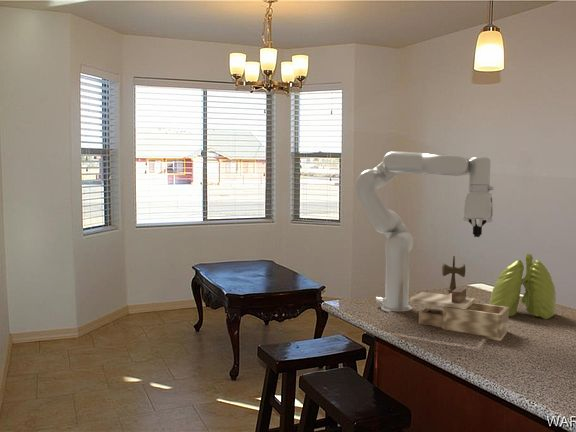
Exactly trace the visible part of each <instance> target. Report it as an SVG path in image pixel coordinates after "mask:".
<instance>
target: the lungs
mask: <svg viewBox="0 0 576 432" xmlns="http://www.w3.org/2000/svg"><path fill="white" fill-rule="evenodd" d="M533 260H534V257H533V255H532V253H526V254H525V267H524V263H523V261H522V260H520V259H517V260H515V261H514V262H513V263H512V264H510V265H508V266H506V267H505V268H504V269H503V271H502V272H501V273H500V274H499V275H498V279H497V280H496V282H495V284H494V287H493V288H492V291H491V295H490V299H489V302H488V303H489V305H497V306H504V307H509V317H513V316H515V315H516V314H517V310H518V308H519V307H518V306H519V304H520V301H521V304H522V305H524V306H525V308H526V312H527V313H528V314H530V315H533V316H535V317H537V318H538V317H540V318H542V319H544V320H548V319H550V318H552V317H553V316H555V314H556V302H557V297H556V296H557V293H556V287H555V284H554V282H553V277H552V276H551V273H550V271H549V270H548V268H547V267H546V266H545V265H544V263H542V261H541V260H539V259H538V260H537V259H536V260H534V261H533ZM524 268H525V275H524V274H523V273H524ZM523 275H524V277H523ZM522 286H523V287H524V293H523V295H522V296H520V295H521V291H522ZM520 298H521V299H520Z"/></svg>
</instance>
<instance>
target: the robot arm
mask: <svg viewBox="0 0 576 432" xmlns="http://www.w3.org/2000/svg"><path fill="white" fill-rule="evenodd" d="M399 174H414V175H440V176H451V177H452V176H454V177H460V176H469V177H468V178H469V179H468V192H466V196H465V200H464V209H463V215H464V216H463V219H462V220H463V221H465V222H468V223H469V224H471V226H472V235H473V237H474V238H476V237H477V238H480V237H481V236H482V234H483V226H484V225H485V224H488V223H492V222H493V215H494V214H493V213H494V209H493V208H494V207H493V205H494V203H493V194H492V192H491V191H494V186H491V184H490V180H491V159H490V157H487V156H474V157H466V156H461V155H445V154H444V155H443V154H442V155H441V154H432V153H431V154H430V153H427V152H414V151H413V152H411V151H397V150H396V151H388V152H386V153H385V155H384V156H383V159H382V161H381V162H380V163H379V164H378V165H377V166H375V167H374V168H369V169H365V170H363V171H362V172H361V173H360V174H359V175H358V177H357V179H356V181H355V185H354V192H355V193H354V194H355V196H356V199H357V201H358V203H359V204H360V206H361V208H362V210H363V211H364V213H365V214H366V216H367V218H368V220H369V221H370V223H371V225H372V226H373V228H374V230H375V231H376V232H377V233H380V234H382V235H383V234H384V236H385V238H386V239H387V240H386V242H385V245H384V247H385V248H384V249H385V250H384V253H385V285H384V289H385V291H384V293H385V294H384V297H381V296H380V297H378V296H376V298H375V302H376V303H378V304H382V305H380V308H381V309H380V310H382V311H383V312H387V313H390V312H391V311H392V312H409V311H411V310H413V307H412V305H409V301H410V298H409V296H410V295H409V293H410V291H409V290H410V251H411V250H413V247H414V245H415V244H414V238H413V236H412V233H410V231H409V229H408V228H407V226H406V225H405V223H404V222H403V220H402V219H401V217H400V215H399V214H398V213H397V212H395V211H394V210H392V209H389V208H388V207H387V206H386V204H385V203H384V201H383V200H382V198H381V197H380V195H379V194H378V192H377V190H379V189H381V188H382V187H384V186H385V185H387V183H389V182H390V181H392V180H393V179H394V178H396V177H397V176H398V175H399ZM477 219H478V223H477Z"/></svg>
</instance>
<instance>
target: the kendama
mask: <svg viewBox="0 0 576 432" xmlns="http://www.w3.org/2000/svg"><path fill="white" fill-rule="evenodd" d="M455 257H456V256H455V255H453V258H452V266H450V265H447V264H446V263H442V265H441V274H442V276H443V277H446V276H447V275H449V274H451V276H450V277H451V278H450V284H449V287H448V288H447V292H448V295H449V294H450V293H452V291H453V290H455V289H456V288H457V285H456V284H457V283H456V274H457V275H459V276H460V277H462V278H465V276H466V265H465V264H466V263H462V264H460V265H458V266H456V258H455Z"/></svg>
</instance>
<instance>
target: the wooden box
mask: <svg viewBox="0 0 576 432" xmlns="http://www.w3.org/2000/svg"><path fill="white" fill-rule="evenodd" d="M509 317H510V316H509V307H504V306H497V305H489V304H488V303H480V302H474V303H473V304H472V305H470V306H469V307H468V308H467V309H459V308H452V307H445V306H442V309H437V308H429V307H425V308H424V309H423V310H421V311H419V312H418V325H427V326H430V327H431V326H432V327H438V328H442V330H447V331H453V332H459V333H465V334H471V335H472V334H473V335H479V336H483V339H487V340H492V341H499V342H500V341H502V340H503V339H504V337H505V336H506V335H507V333H508V332H509Z"/></svg>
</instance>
